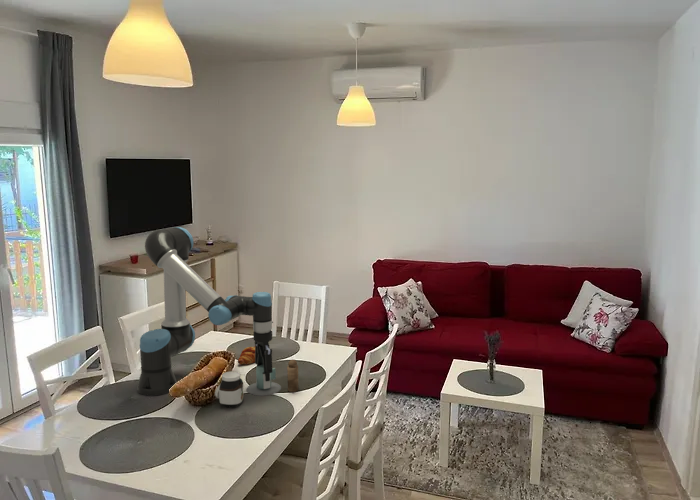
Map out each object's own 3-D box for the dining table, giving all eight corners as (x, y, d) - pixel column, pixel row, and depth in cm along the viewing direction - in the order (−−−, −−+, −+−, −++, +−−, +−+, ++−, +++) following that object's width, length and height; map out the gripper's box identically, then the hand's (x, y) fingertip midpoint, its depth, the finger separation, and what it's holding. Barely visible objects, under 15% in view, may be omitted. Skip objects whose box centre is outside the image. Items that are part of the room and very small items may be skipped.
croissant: (260, 359, 267) (253, 344, 268) (275, 352, 263) (269, 337, 264) (234, 372, 248) (227, 356, 249) (250, 365, 244) (243, 349, 244)
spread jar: (235, 410, 202) (235, 380, 201) (207, 407, 205) (206, 377, 203) (248, 397, 214) (247, 368, 212) (221, 394, 216) (220, 366, 215)
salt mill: (290, 392, 218) (289, 362, 216) (286, 389, 222) (285, 359, 220) (300, 390, 220) (299, 360, 219) (295, 387, 224) (295, 357, 222)
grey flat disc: (253, 398, 213) (253, 397, 213) (241, 385, 225) (241, 385, 225) (286, 391, 220) (286, 390, 220) (273, 379, 232) (273, 379, 232)
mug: (259, 390, 218) (259, 371, 217) (254, 385, 223) (253, 366, 222) (278, 386, 222) (277, 367, 221) (272, 381, 227) (272, 363, 226)
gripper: (280, 335, 212) (281, 391, 216) (263, 323, 229) (264, 375, 232) (262, 338, 209) (263, 395, 212) (246, 326, 225) (247, 379, 228)
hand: (264, 385), depth 222 cm, fingers closed on mug, 6 cm apart
